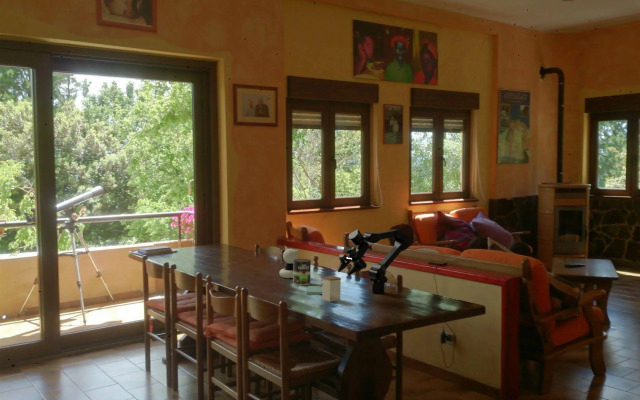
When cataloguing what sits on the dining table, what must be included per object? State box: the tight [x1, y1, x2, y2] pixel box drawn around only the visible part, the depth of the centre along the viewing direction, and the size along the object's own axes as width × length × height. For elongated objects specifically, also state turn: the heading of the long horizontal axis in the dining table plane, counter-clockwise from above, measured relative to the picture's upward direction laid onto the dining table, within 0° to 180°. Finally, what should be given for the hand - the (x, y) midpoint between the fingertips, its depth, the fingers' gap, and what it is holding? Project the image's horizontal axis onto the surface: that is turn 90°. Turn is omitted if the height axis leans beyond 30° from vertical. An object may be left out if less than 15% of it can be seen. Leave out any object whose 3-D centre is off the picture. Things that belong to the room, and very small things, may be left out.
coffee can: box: [292, 258, 312, 286], centre depth 344 cm, size 10×10×14 cm
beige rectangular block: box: [321, 275, 342, 303], centre depth 305 cm, size 7×7×12 cm
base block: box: [306, 285, 322, 295], centre depth 324 cm, size 15×15×2 cm
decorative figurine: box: [279, 245, 300, 279], centre depth 364 cm, size 15×15×20 cm
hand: (343, 273), depth 308 cm, fingers open, 9 cm apart
